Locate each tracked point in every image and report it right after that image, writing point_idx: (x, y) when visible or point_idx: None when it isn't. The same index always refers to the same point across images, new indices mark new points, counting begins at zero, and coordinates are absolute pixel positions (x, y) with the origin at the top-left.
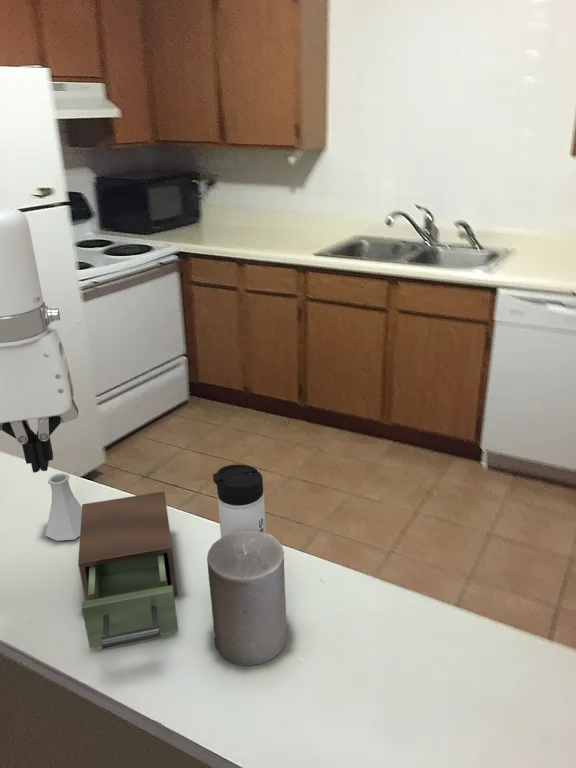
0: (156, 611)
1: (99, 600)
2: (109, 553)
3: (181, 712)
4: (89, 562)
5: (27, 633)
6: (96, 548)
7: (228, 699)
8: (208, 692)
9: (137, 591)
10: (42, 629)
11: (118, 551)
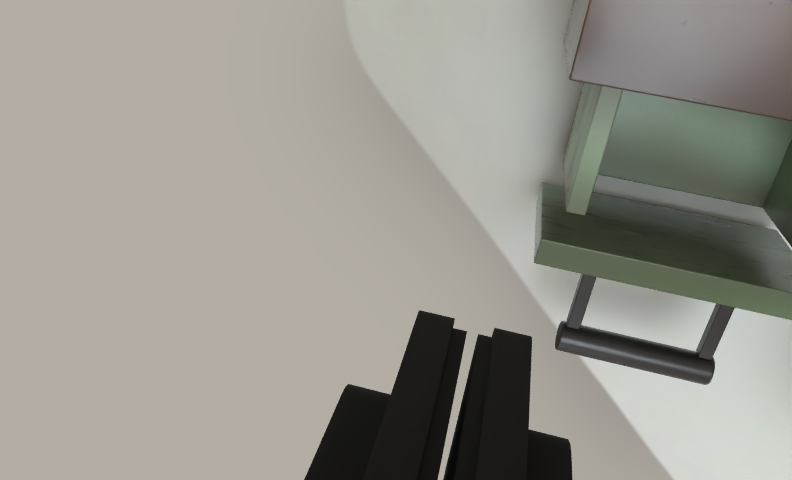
0: (733, 308)
1: (590, 259)
2: (697, 75)
3: (666, 419)
4: (609, 86)
5: (396, 48)
6: (660, 16)
7: (768, 439)
8: (739, 408)
9: (712, 277)
10: (434, 51)
11: (734, 76)
